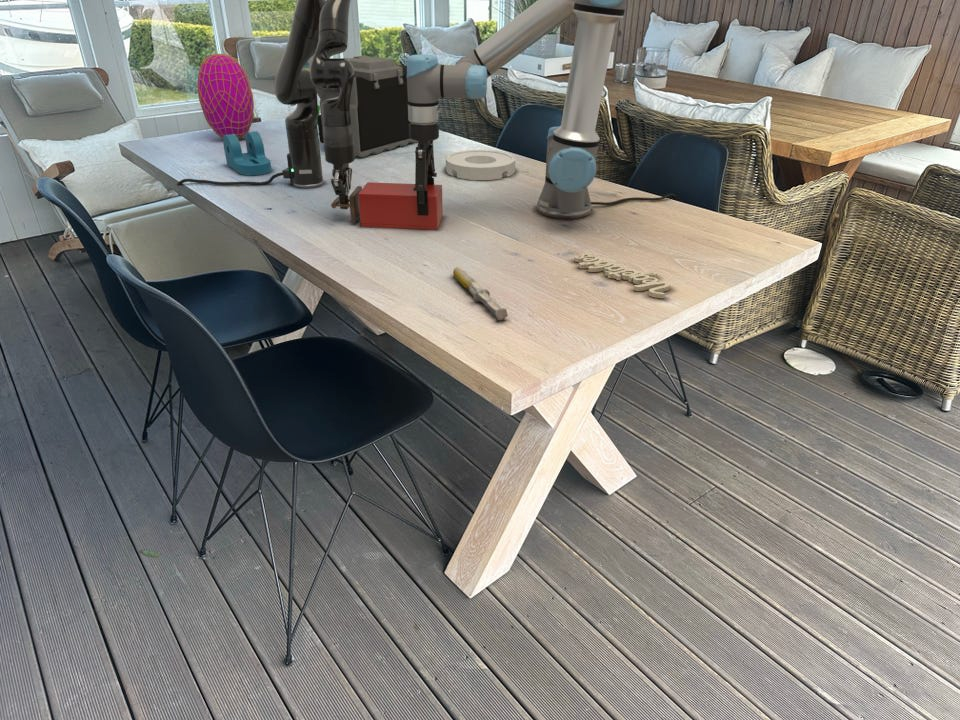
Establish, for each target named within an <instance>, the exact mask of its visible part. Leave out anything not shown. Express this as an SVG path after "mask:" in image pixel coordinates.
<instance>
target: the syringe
mask: <svg viewBox="0 0 960 720" xmlns="http://www.w3.org/2000/svg"><path fill="white" fill-rule="evenodd" d="M452 274H453V277H454V279H455V280H457V281H458V282H459V283H460V285H462V287H464V289H466V290H467V291H468V293H470V295H471V296H472V298H473V300H474V302H477V303H478V302H480V303H482V304H483V305H484V306H485V307H486V308H487V309H488V310H489V311H490V312H491V313H492V314H493V315H494V316H495V317H496V320H497V321H503V320H504V319H506V318H507V317H509V314H508V310H507V308H506V307H502V306H501V305H500V303H498V302H497V301H496V300H494V299H493V298H492V297H491V296H490V295H491V293H490V290H488V289H486V288H483V287H482V286H481V285H480V284H479V283H478V282H477V281H476V280H474V278H473V277H471V275H469V274H468V273H467V272H466V270H465V269H464V268H463V267H462V266H456V267H454V268H453V271H452Z"/></svg>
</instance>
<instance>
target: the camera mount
mask: <svg viewBox="0 0 960 720" xmlns="http://www.w3.org/2000/svg"><path fill="white" fill-rule="evenodd" d="M244 137H245V146H246V152H243V151H242V150H243V149H242V146H241V142H240V140H239V139H238V138H237V136H236V135H235V134H230V135H224V137H223V138H222V140H223V141H222V143H223V149H224V150H223V151H224V156H225V161H226V165H227V166H228V167H230V168H231V169H232V170H234V171H236V172H237V173H238V174H239V175H244V176H260V175H265V174H268V173H271V172H272V164H271V159H270V158H268V157H267V156H266V153H265V145H264V141H263V139H262V136H261V134H260V132H258V131H248V132H247V133H246V135H245V136H244Z"/></svg>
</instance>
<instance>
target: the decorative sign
mask: <svg viewBox="0 0 960 720" xmlns="http://www.w3.org/2000/svg"><path fill="white" fill-rule="evenodd" d="M574 262H575V263H578V269H588V270H587V272H588V273H598V272H603V273H604V276H606V277H607V278H608V279H614V280H617V281H621V279H622V280H627V281H628V282H630V283H633V284H634V285H633V291H636V292H643V291H647V290H648V293H647V294H648V296H649V297H652V298H656V299H664V298H665V295H666V292H668V291H669V290H670V289H671V283H670V282H668V281H659V279H658V272H657V271H648V272H639V271H637V270H634V269H630V268H628V267H627V266H626V267H625V266H624V265H619V264H618V263H615V262H611V261H610V260H604V258H601V257H598V256H596V255H592V254H590V253H587V252H586V253H582V254H581V255H580V256H578V255H575V256H574Z"/></svg>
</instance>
